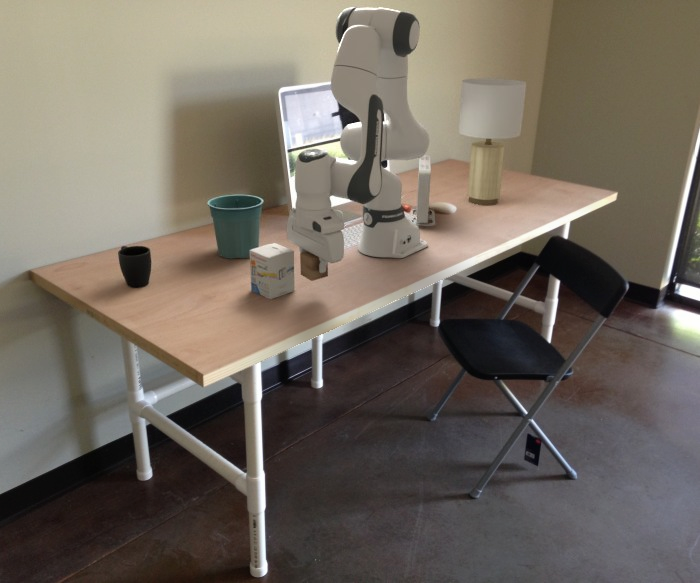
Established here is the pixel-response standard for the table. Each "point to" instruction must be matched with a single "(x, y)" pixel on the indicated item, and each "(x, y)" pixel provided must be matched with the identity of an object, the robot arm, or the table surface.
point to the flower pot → (236, 224)
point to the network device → (423, 193)
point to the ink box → (272, 270)
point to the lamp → (489, 131)
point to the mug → (135, 265)
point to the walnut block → (311, 266)
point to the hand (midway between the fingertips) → (314, 267)
